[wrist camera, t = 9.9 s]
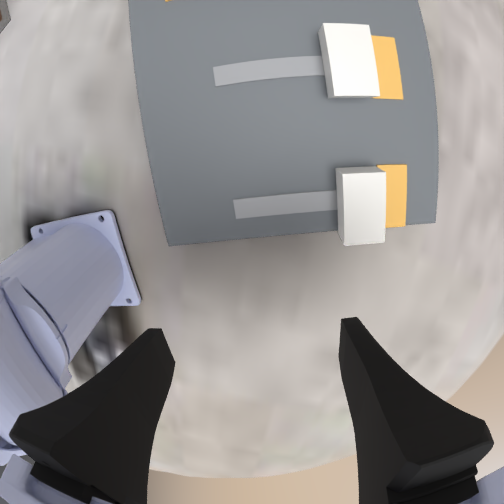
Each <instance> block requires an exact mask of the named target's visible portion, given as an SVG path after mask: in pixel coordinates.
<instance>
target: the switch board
mask: <svg viewBox="0 0 504 504" xmlns="http://www.w3.org/2000/svg"><path fill="white" fill-rule="evenodd" d="M128 2H129V18H130V31H131V42H132V52H133V61H134V70H135V78H136V85H137V92H138V99H139V106H140V112H141V119H142V125H143V130H144V136H145V142H146V147H147V152H148V158H149V163H150V168H151V173H152V177H153V182H154V187H155V191H156V196H157V200H158V205H159V209H160V213H161V217H162V222H163V226H164V230H165V234H166V238H167V242H168V245H169V246H176V245H186V244H196V243H206V242H216V241H226V240H237V239H247V238H258V237H269V236H280V235H291V234H302V233H313V232H325V231H337V230H338V208H337V185H336V168H345V167H367V166H376V167H378V168H379V169H381V170H383V171H385V172H386V223H385V228H390V227H403V226H405V225H413V224H427V223H435V221H436V209H437V193H438V122H437V107H436V96H435V87H434V79H433V71H432V64H431V58H430V52H429V47H428V42H427V37H426V32H425V27H424V23H423V19H422V15H421V11H420V7H419V4H418V0H128ZM323 23H345V24H364V25H369V28H370V33H371V38H372V43H373V49H374V55H375V61H376V67H377V74H378V82H379V90H380V96H378V97H372V98H328V94H327V87H326V79H325V72H324V65H323V59H322V53H321V47H320V41H319V35H318V31H319V30H320V28H321V26H322V24H323Z"/></svg>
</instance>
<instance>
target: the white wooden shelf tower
mask: <svg viewBox="0 0 504 504" xmlns="http://www.w3.org/2000/svg"><path fill="white" fill-rule="evenodd" d="M10 20H11V19H10V15H9V11H8V7H7V3H6V0H0V33H1V31H2V30H3V29H4V28H5V26H6V25H7V24H8V23H9V21H10Z"/></svg>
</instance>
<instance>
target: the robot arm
mask: <svg viewBox="0 0 504 504" xmlns="http://www.w3.org/2000/svg"><path fill="white" fill-rule="evenodd" d="M101 216H103V217H104V220H102V218H101ZM42 230H43V231H42ZM31 234H32V237H33V240H32V241H30V242H29V243H27V244H26V245H24V246H23V247H22V248H20V249H19V250H18V251H16V252H15V253H13V254H12V255H11V256H9V257H8V258H7V259H5V260H4V261H3V262H2V263H0V466H3V465H5V464H6V463H8V464H7V466H6V468H5V471H4V472H3V475H2V477H1V479H0V496H1V497H2V498H3V499H5V500H6V501H7V502H8V503H10V504H147V484H148V473H149V464H150V457H151V450H152V445H153V440H154V435H155V431H156V427H157V424H158V421H159V418H160V415H161V412H162V409H163V406H164V403H165V400H166V398H167V395H168V392H169V389H170V386H171V382H172V377H173V373H174V367H175V361H174V358H173V356H172V354H171V351H170V349H169V346H168V344H167V341H166V339H165V337H164V334H163V331H162V329H156V328H149V329H147V330H146V331H145V332H144V333H143V334H142V335H140V336H139V337H138V338H137V339H136V340H135V341H134V342H133V343H132V344H131V345H130V346H129V347H128V348H126V349H125V350H124V351H123V352H122V353H121V354H120V355H119V356H118V357H117V358H116V359H115V360H113V361H112V362H111V363H110V364H109V365H107V366H106V367H105V368H104V369H103V370H102V371H100V372H99V373H98V374H97V375H95V376H94V377H93V378H91V379H90V380H89V381H87V382H86V383H84V384H83V385H82V386H80V387H78V388H77V389H75V390H73V391H72V392H70V393H67V391H66V390H65V387H66V386H67V384H68V382H69V381H70V379H71V377H72V375H71V374H70V372H69V370H68V365H69V363H70V362H71V360H72V359H73V357H74V356H75V354H76V353H77V351H78V350H79V348H80V347H81V345H82V344H83V342H84V341H85V339H86V338H87V337H88V335H89V334H90V332H91V331H92V330H93V328H94V327H95V325H96V324H97V323H98V321H99V320H100V318H101V317H102V316H103V314H104V313H105V311H106V310H107V309H108V307H109V306H137V305H139V304H140V302H141V297H140V294H139V291H138V289H137V286H136V283H135V280H134V277H133V274H132V271H131V268H130V265H129V262H128V259H127V256H126V253H125V250H124V247H123V243H122V240H121V237H120V233H119V230H118V227H117V223H116V219H115V216H114V213H113V212H112V211H111V210H103V211H98V212H94V213H89V214H84V215H79V216H75V217H70V218H66V219H61V220H57V221H52V222H48V223H44V224H40V225H36V226H34V227H32V228H31ZM128 298H129V299H131V301H130V300H129V299H128ZM339 362H340V370H341V377H342V381H343V385H344V389H345V393H346V397H347V401H348V405H349V409H350V413H351V417H352V421H353V426H354V432H355V441H356V450H357V463H358V480H359V504H504V467H502V468H500V469H498V470H496V471H494V472H493V473H491V474H489V475H487V476H485V477H483V478H481V479H480V480H478V481H477V482H476V479H475V475H476V474H477V472H478V471H477V467H476V464H477V463H478V462H479V461H480V460H481V459H482V458H483V457H484V456H485V455H486V454H487V453H488V452H489V451H490V450H491V449H492V447H493V445H494V441H493V439H492V436H491V433H490V431H489V429H488V427H487V425H486V423H485V421H484V420H482V419H479V418H477V417H475V416H472V415H470V414H468V413H465V412H463V411H462V410H459V409H458V408H456V407H454V406H452V405H451V404H449V403H447V402H445V401H444V400H442V399H441V398H439V397H438V396H436V395H435V394H433V393H432V392H430V391H429V390H427V389H426V388H425V387H423V386H422V385H421V384H419V383H418V382H417V381H416V380H415V379H413V378H412V377H411V376H410V375H409V374H408V373H407V372H405V371H404V370H403V369H402V368H401V367H400V366H399V365H398V364H397V363H396V362H395V361H394V360H393V359H392V358H391V357H390V356H389V355H388V354H387V352H386V351H385V350H384V349H383V348H382V347H381V346H380V345H379V343H378V342H377V341H376V340H375V339H374V338H373V336H372V335H371V334H370V333H369V331H368V330H367V329H366V328H365V326H364V325H363V324H362V322H361V321H360V320H359V319H358V318H357V317H353V318H344V319H341V331H340V345H339ZM22 455H28V456H30V457H31V458H32V459H33V460H34V461H35V464H34V466H33V465H31V464H30V463H28V462H27V461H25V460H24V459H22V458H20V457H19V456H22Z"/></svg>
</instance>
